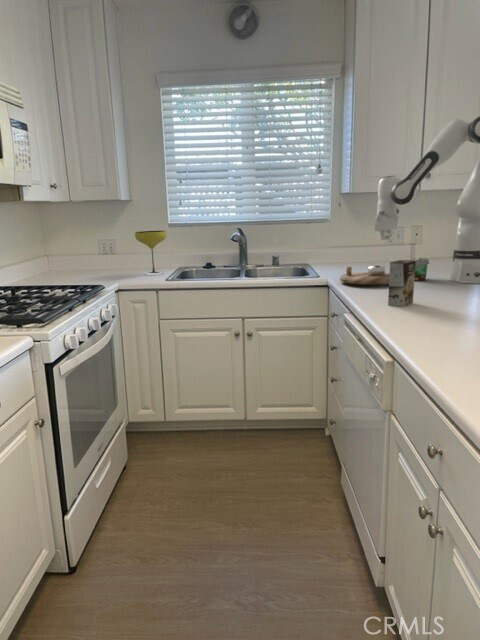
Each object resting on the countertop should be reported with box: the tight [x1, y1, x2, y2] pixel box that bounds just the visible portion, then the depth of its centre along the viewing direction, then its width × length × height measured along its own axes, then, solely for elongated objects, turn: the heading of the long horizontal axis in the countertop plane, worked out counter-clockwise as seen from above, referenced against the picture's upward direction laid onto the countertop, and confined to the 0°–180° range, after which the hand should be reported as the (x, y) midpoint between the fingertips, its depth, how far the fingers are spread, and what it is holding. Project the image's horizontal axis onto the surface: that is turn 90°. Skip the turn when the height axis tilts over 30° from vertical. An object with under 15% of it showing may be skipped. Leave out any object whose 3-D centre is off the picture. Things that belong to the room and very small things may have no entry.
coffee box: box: [387, 259, 416, 308], centre depth 175 cm, size 9×6×16 cm
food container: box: [414, 257, 430, 282], centre depth 225 cm, size 12×6×10 cm, turn 143°
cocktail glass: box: [134, 230, 167, 273], centre depth 277 cm, size 18×18×25 cm
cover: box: [367, 264, 386, 276], centre depth 228 cm, size 8×8×4 cm
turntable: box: [339, 266, 390, 286], centre depth 223 cm, size 28×28×5 cm
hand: (385, 239), depth 232 cm, fingers open, 4 cm apart
